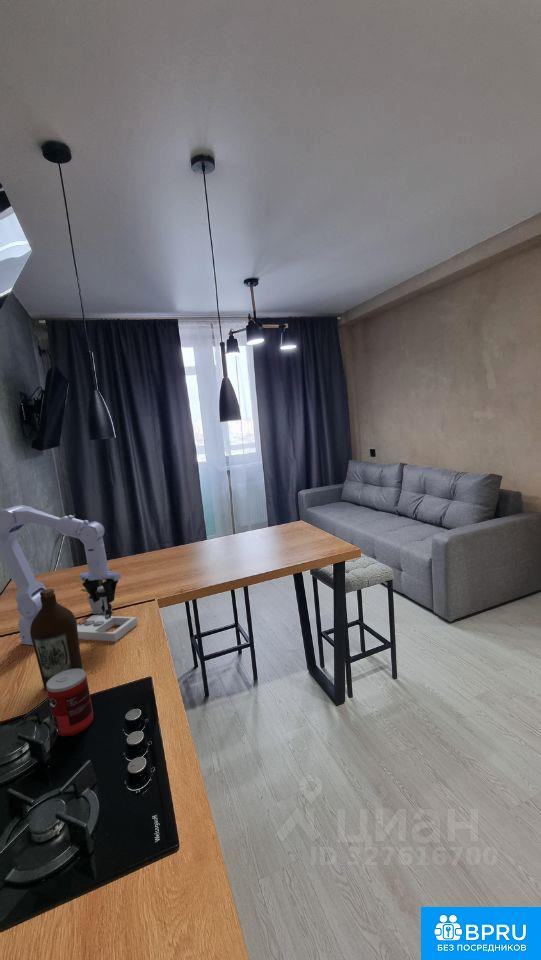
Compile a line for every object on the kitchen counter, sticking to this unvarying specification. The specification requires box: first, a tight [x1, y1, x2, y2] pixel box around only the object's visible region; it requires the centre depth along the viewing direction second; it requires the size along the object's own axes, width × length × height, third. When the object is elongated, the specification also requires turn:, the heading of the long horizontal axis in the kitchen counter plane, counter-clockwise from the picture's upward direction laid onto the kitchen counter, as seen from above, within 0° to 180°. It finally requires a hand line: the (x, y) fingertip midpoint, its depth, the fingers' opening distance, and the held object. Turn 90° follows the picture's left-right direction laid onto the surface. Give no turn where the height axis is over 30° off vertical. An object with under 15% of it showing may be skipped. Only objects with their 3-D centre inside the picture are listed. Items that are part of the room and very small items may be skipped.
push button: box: [95, 586, 114, 620], centre depth 135 cm, size 7×5×10 cm
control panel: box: [77, 614, 138, 642], centre depth 137 cm, size 18×11×3 cm, turn 71°
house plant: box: [77, 567, 116, 615], centre depth 153 cm, size 14×14×16 cm
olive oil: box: [30, 588, 84, 692], centre depth 108 cm, size 11×11×25 cm
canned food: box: [46, 668, 94, 737], centre depth 92 cm, size 8×8×11 cm
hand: (103, 601), depth 135 cm, fingers closed on push button, 5 cm apart
